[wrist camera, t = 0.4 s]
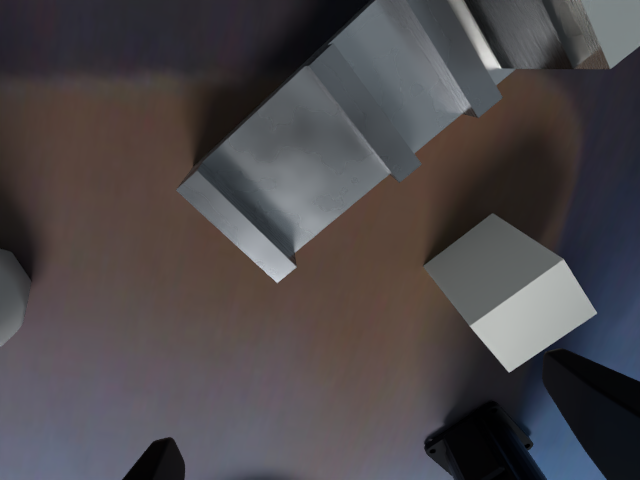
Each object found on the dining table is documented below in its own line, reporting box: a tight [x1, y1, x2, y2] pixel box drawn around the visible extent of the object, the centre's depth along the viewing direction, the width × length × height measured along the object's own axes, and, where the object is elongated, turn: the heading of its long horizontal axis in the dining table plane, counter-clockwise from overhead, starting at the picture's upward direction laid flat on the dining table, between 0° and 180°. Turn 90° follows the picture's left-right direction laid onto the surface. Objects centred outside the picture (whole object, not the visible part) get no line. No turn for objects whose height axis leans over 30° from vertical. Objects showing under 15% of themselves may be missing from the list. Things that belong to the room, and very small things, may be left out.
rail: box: [176, 0, 640, 283], centre depth 15 cm, size 6×20×8 cm, turn 130°
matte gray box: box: [423, 213, 597, 372], centre depth 21 cm, size 5×5×6 cm
